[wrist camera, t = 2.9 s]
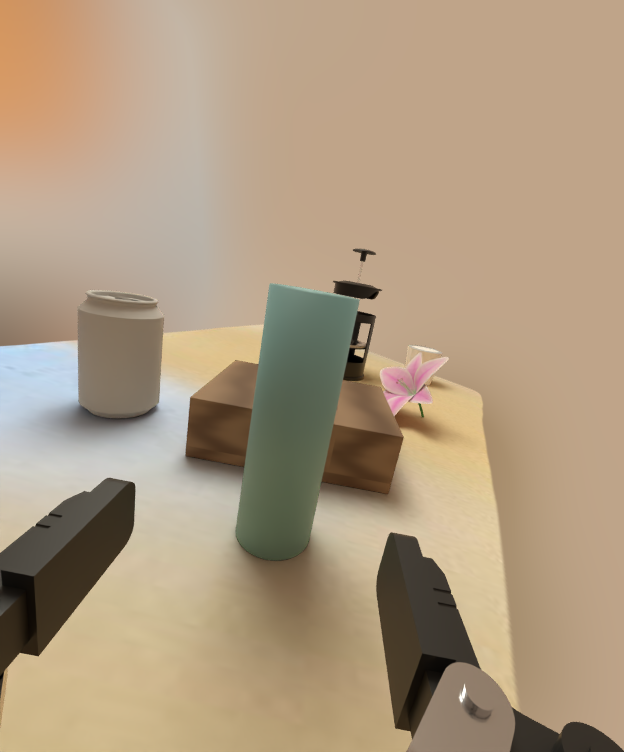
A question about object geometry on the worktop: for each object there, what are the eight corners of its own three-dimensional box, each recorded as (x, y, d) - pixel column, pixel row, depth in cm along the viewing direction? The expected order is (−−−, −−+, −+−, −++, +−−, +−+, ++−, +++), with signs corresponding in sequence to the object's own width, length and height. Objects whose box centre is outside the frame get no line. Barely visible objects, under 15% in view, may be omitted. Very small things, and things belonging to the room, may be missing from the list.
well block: (185, 455, 30) (190, 397, 29) (230, 401, 44) (235, 360, 42) (388, 494, 30) (403, 437, 29) (370, 428, 43) (380, 387, 42)
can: (171, 402, 40) (178, 299, 37) (134, 427, 33) (139, 303, 30) (109, 389, 41) (111, 286, 37) (60, 413, 33) (56, 287, 30)
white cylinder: (398, 380, 70) (407, 346, 68) (401, 373, 76) (409, 342, 75) (433, 389, 68) (442, 355, 66) (433, 381, 74) (442, 350, 73)
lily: (376, 401, 58) (363, 351, 54) (450, 391, 54) (443, 337, 50) (372, 451, 48) (356, 395, 44) (462, 444, 44) (455, 382, 40)
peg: (226, 551, 21) (261, 283, 17) (245, 501, 26) (277, 283, 21) (307, 567, 21) (363, 302, 17) (311, 513, 26) (356, 297, 21)
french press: (371, 375, 70) (399, 257, 63) (358, 385, 61) (388, 249, 55) (319, 361, 74) (340, 248, 68) (300, 368, 66) (322, 240, 59)
